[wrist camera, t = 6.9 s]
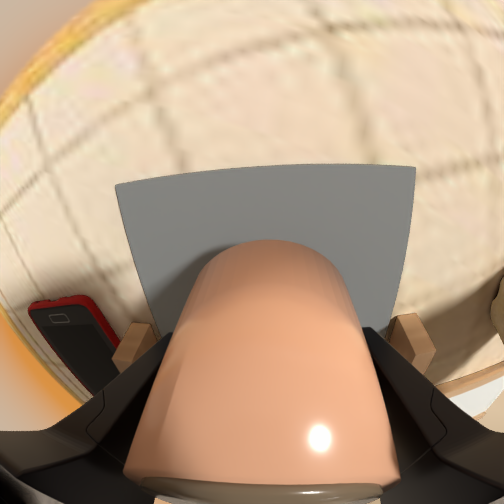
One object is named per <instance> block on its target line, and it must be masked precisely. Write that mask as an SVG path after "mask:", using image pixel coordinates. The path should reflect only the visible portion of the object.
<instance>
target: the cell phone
mask: <svg viewBox="0 0 504 504" xmlns="http://www.w3.org/2000/svg"><path fill="white" fill-rule="evenodd" d="M37 302H39V303H37ZM37 302H33V303H32V304H31V305H30V306H29V308H28V314H29V316H30V318H31V319H32V321H33V323H34V324H35V326H36V327H37V329H38V330H39V331H40V333H41V334H42V336H43V337H44V338H45V340H46V341H47V343H48V344H49V345H50V347H51V348H52V349H53V350H54V352H55V353H56V354H57V356H58V357H59V358H60V359H61V361H62V362H63V363H64V364H65V365H66V367H67V368H68V369H69V370H70V371H71V372H72V374H73V375H74V376H75V377H76V378H77V379H78V380H79V381H80V383H81V384H82V385H83V386H84V387H85V388H86V389H87V390H88V391H89V392H90V393H91V394H92V395H93V396H95V395H96V394H97V393H99V392H100V391H101V390H104V387H106V386H107V385H108V384H109V383H110V382H111V381H113V380H114V379H115V378H116V377H117V376H118V375H120V374H121V373H120V372H119V370H118V368H117V367H116V365H115V364H114V362H113V360H112V357H113V355H114V353H115V352H116V350H117V348H118V346H119V344H120V342H121V341H120V340H119V338H118V337H117V336H116V334H115V333H114V331H113V330H112V328H111V327H110V325H109V323H108V322H107V320H106V319H105V317H104V316H103V314H102V312H101V311H100V309H99V308H98V307H97V305H96V304H95V302H94V301H93V300H92V299H91V298H90V297H88V296H85V295H74V296H71V297H62V298H59V299H58V300H57V301H52V302H51V301H50V299H49V300H43V301H37ZM35 303H36V304H35Z"/></svg>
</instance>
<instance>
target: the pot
mask: <svg viewBox="0 0 504 504" xmlns="http://www.w3.org/2000/svg"><path fill="white" fill-rule="evenodd" d="M123 474H124V475H125V476H126V477H127V478H128V479H130V480H131V481H133V482H134V483H136V484H137V485H139V486H140V487H139V488H140V489H141V490H142V491H144V492H146V493H147V494H149V495H151V496H153V497H156V498H158V499H161V500H163V501H166V502H169V503H172V504H367V503H370V502H372V501H375V500H377V499H379V498H380V497H381V496H383V493H384V492H386V491H388V490H390V489H392V488H394V487H395V486H396V485H398V484H399V483H400V481H401V475H400V470H399V464H398V459H397V454H396V449H395V445H394V440H393V436H392V431H391V427H390V423H389V419H388V415H387V411H386V407H385V403H384V399H383V396H382V392H381V388H380V385H379V381H378V378H377V375H376V371H375V368H374V365H373V361H372V358H371V355H370V352H369V349H368V346H367V342H366V339H365V336H364V333H363V330H362V328H361V325H360V322H359V319H358V316H357V313H356V310H355V308H354V305H353V302H352V299H351V297H350V294H349V291H348V289H347V286H346V284H345V281H344V279H343V277H342V275H341V274H340V272H339V271H338V269H337V268H336V267H335V266H334V265H333V264H332V263H331V261H329V260H328V259H327V258H326V257H324V256H323V255H322V254H320V253H318V252H317V251H315V250H313V249H311V248H309V247H306V246H304V245H301V244H298V243H294V242H290V241H284V240H256V241H250V242H246V243H241V244H239V245H236V246H233V247H231V248H229V249H227V250H225V251H223V252H221V253H220V254H218V255H217V256H215V257H214V258H213V259H211V260H210V261H209V262H208V263H207V264H206V265H205V266H204V268H203V269H202V270H201V272H200V273H199V275H198V277H197V279H196V281H195V283H194V285H193V287H192V290H191V292H190V294H189V297H188V299H187V301H186V304H185V306H184V308H183V311H182V313H181V316H180V318H179V320H178V323H177V325H176V328H175V330H174V332H173V335H172V337H171V340H170V342H169V345H168V347H167V350H166V352H165V355H164V357H163V360H162V363H161V365H160V368H159V370H158V373H157V375H156V378H155V381H154V383H153V386H152V389H151V391H150V394H149V397H148V399H147V402H146V405H145V408H144V410H143V413H142V416H141V419H140V422H139V424H138V427H137V430H136V433H135V436H134V439H133V442H132V445H131V448H130V451H129V454H128V457H127V460H126V463H125V466H124V469H123Z"/></svg>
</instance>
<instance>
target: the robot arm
mask: <svg viewBox="0 0 504 504" xmlns="http://www.w3.org/2000/svg"><path fill="white" fill-rule="evenodd" d="M361 328H362V330H363V333H364V336H365V339H366V342H367V346H368V349H369V352H370V355H371V358H372V361H373V365H374V368H375V371H376V375H377V378H378V381H379V385H380V388H381V392H382V396H383V399H384V403H385V407H386V411H387V415H388V419H389V423H390V427H391V431H392V436H393V440H394V445H395V449H396V454H397V459H398V464H399V470H400V475H401V481H400V483H399V484H398V485H396V486H395V487H394V488H392V489H390V490H388V491H386V492H384V493H383V496H381V497H380V501H381V504H504V433H500V432H495V431H492V430H489V429H487V428H486V427H484V426H482V425H481V424H480V423H479V422H477V421H476V420H475V419H474V418H472V417H471V416H470V415H468V414H467V413H466V412H464V411H463V410H462V409H460V408H459V407H458V406H457V405H456V404H454V403H453V402H452V401H451V400H450V399H448V398H447V397H446V396H445V395H444V394H443V393H442V392H441V391H440V390H439V389H438V388H437V387H435V386H434V385H433V384H432V383H431V382H430V381H429V380H428V379H427V378H426V377H425V376H424V375H423V374H422V373H421V372H419V371H418V370H417V369H416V368H415V367H414V366H413V365H412V364H411V363H410V362H409V361H408V360H407V359H405V358H404V357H403V356H402V355H401V354H400V353H399V352H398V351H397V350H396V349H395V348H394V347H392V346H391V345H390V344H389V343H388V342H387V341H386V340H385V339H384V338H383V337H382V336H380V335H379V334H378V333H377V332H376V331H375V330H374V329H373V328H371V327H361ZM172 335H173V332H168V333H167V334H166V335H165V336H163V337H162V338H161V339H160V340H159V341H158V342H157V343H155V344H154V345H153V346H152V347H151V348H150V349H149V350H147V351H146V352H145V353H144V354H143V355H142V356H140V357H139V358H138V359H137V360H136V361H135V362H133V363H132V364H131V365H130V366H129V367H128V368H127V369H125V370H124V371H123V372H122V373H121V374H120V375H118V376H117V377H116V378H115V379H114V380H113V381H111V382H110V383H109V384H108V385H107V386H106V387H104V390H101V391H100V392H99V393H97V394H96V395H95V396H94V397H93V398H91V399H90V400H89V401H88V402H86V403H85V404H84V405H82V406H81V407H80V408H78V409H77V410H75V411H74V412H72V413H71V414H70V415H68V416H67V417H65V418H64V419H62V420H61V421H59V422H58V423H56V424H55V425H53V426H52V427H49V428H47V429H44V430H40V431H0V504H154V500H155V497H153V496H151V495H149V494H147V493H146V492H144V491H142V490H141V489H140V488H139V487H140V486H139V485H137V484H136V483H134V482H133V481H131V480H130V479H128V478H127V477H126V476H125V475H124V474H123V469H124V466H125V463H126V460H127V457H128V454H129V451H130V448H131V445H132V442H133V439H134V436H135V433H136V430H137V427H138V424H139V422H140V419H141V416H142V413H143V410H144V408H145V405H146V402H147V399H148V397H149V394H150V391H151V389H152V386H153V383H154V381H155V378H156V375H157V373H158V370H159V368H160V365H161V363H162V360H163V357H164V355H165V352H166V350H167V347H168V345H169V342H170V340H171V337H172Z"/></svg>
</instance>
